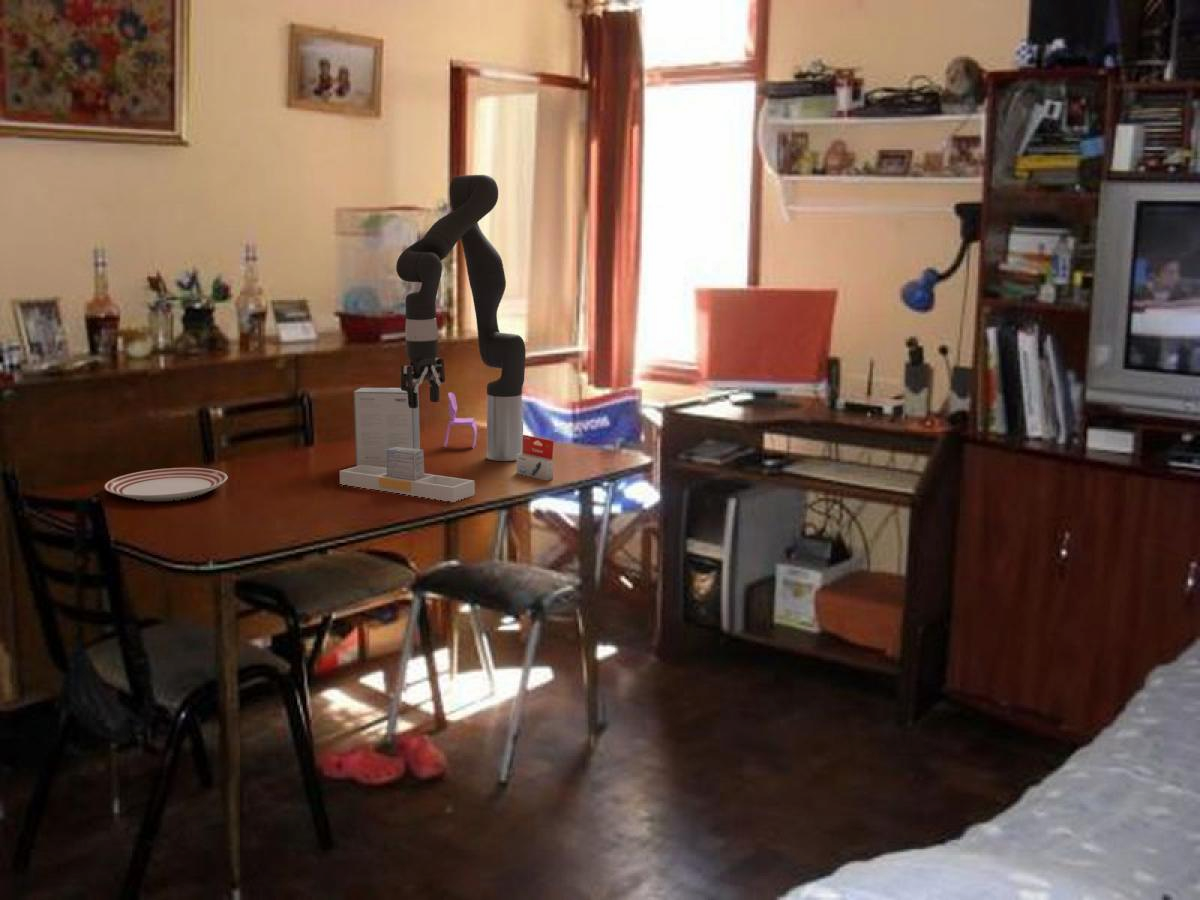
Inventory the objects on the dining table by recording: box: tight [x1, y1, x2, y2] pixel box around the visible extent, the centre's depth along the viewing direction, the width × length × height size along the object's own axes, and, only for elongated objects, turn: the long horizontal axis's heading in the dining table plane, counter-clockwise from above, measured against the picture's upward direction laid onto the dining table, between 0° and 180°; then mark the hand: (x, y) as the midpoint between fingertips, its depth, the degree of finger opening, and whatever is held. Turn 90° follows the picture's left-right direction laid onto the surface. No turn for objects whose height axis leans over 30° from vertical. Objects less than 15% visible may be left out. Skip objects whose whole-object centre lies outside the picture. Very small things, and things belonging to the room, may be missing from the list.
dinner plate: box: [104, 467, 229, 502], centre depth 313 cm, size 27×27×3 cm
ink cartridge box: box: [516, 434, 555, 481], centre depth 334 cm, size 2×11×10 cm, turn 47°
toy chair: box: [442, 391, 478, 449], centre depth 369 cm, size 8×9×15 cm
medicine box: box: [386, 447, 425, 481], centre depth 317 cm, size 8×4×9 cm, turn 68°
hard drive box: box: [352, 387, 421, 468], centre depth 342 cm, size 16×8×20 cm, turn 84°
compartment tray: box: [339, 465, 476, 503], centre depth 318 cm, size 9×33×4 cm, turn 61°
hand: (424, 404), depth 319 cm, fingers open, 8 cm apart
